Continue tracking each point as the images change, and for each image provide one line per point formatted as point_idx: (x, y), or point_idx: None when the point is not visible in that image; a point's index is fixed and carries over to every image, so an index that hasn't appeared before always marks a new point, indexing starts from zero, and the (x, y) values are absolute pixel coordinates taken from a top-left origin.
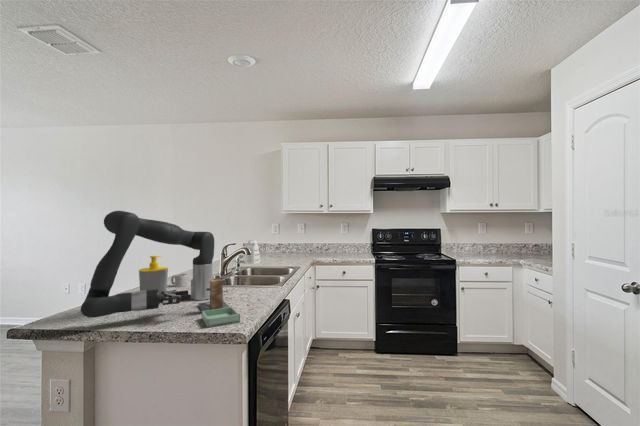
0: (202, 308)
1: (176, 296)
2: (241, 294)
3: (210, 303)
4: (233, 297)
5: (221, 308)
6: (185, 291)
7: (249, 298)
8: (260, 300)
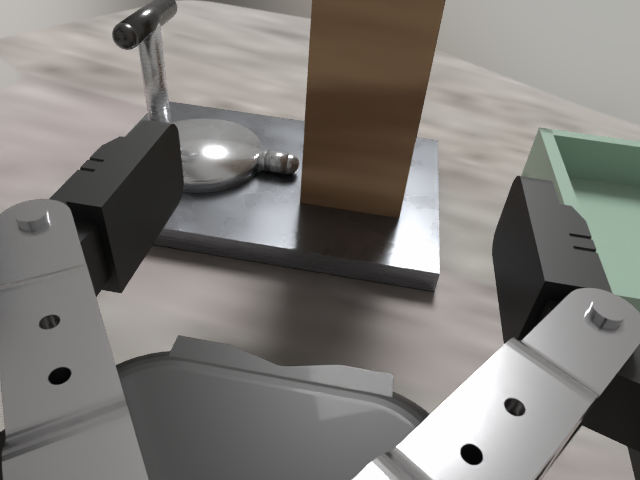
0: (279, 243)
1: (618, 373)
2: (83, 27)
3: (334, 166)
4: (102, 58)
5: (560, 173)
6: (161, 150)
7: (215, 39)
8: (305, 36)
